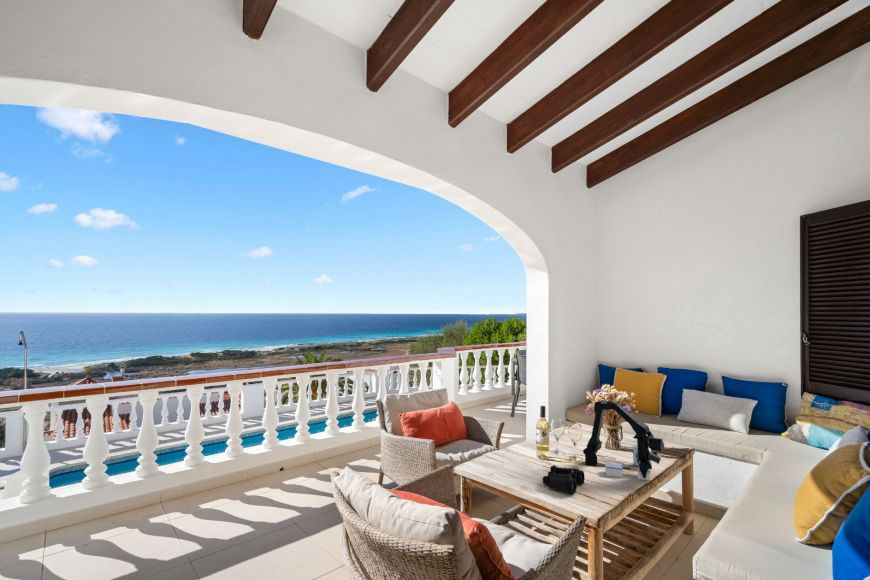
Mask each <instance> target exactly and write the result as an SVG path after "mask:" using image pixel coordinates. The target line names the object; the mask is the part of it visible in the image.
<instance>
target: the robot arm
mask: <svg viewBox="0 0 870 580" xmlns="http://www.w3.org/2000/svg"><path fill="white" fill-rule="evenodd" d="M593 410H594V419H593V420H594V421H593V426H592V431H591V436H590V438H589V440H588V442H587V444H586V448H584V449H583V450H582V452H583V455H584V457H585V458H584V459H585V464H584V465H586V466H595V467H597V466H598V456H597V453H598V451H600V450H601V449H602V444H603V441H602V440H601V439H600V436H601V432H602V431H601V430H602V425H603V420H604V416H605V414H606V413H607V410H609V411H610V410H613V411H615V412H616V413H617V415H619V416H620V417H621V418H622V419H623V420H624V421H626V423H628V425H630V427H631V429H632V431H634V433H635V435H634V436H633V437H632V438H633V439H634V440H635V439H636V445H637V453H636V458H638V459H637V462H638V466H637V467H639V469H640V471H641V473H642V476H643V478H646V475H647V471H648V469H650V470H652V469H653V466H652V465H653V464H652V465H651V463H650V462H649V461H650V460H652V462H654V463H656V464H658V465H659V464H660V462H661V461H662V460H661V459H662V458H661V456H660V455H658V452H660V453H663V452H664V450H665V443H664V441H663V438H661V437H660V438H659V437H658V438H657V437H654V435H653V433H652V432H651V430H650V427H649V426H648V425H647V424H645V423H644V422H643V421H641V420H639V419H637V418H635V417H634V416H633V415H632V414H631V413H630V412H629V411H628V410H627V409H625V408H624V407H623V405H621V404H620V403H619V402H618V401H606V400H605V399H601V400H598V401H595V402H594V405H593ZM649 448H650V449H651V452H650V451H649Z"/></svg>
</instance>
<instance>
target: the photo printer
mask: <svg viewBox="0 0 870 580" xmlns="http://www.w3.org/2000/svg"><path fill="white" fill-rule="evenodd" d="M649 451H650V452H652V450H651V449H650V448H649ZM636 453H637V444H634V445H633V446H632V455H633V457H632V458H633V459H632V460H633V462H632V463H633V465H634V466H637V467H639V466H638V462H637V459H638V458H636ZM649 462H650V463H651V465H653V464H652V463H653V461H652V460H650V461H649Z"/></svg>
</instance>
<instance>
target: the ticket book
mask: <svg viewBox="0 0 870 580" xmlns="http://www.w3.org/2000/svg"><path fill="white" fill-rule="evenodd" d="M604 467H605V476H609V477H616V478H626V475H625V473H624V467H623V464H620V463H612V462H605V465H604Z"/></svg>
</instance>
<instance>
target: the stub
mask: <svg viewBox="0 0 870 580" xmlns="http://www.w3.org/2000/svg"><path fill="white" fill-rule="evenodd" d="M636 469H637V473H636V474H637V479H638V480H644V481H651V480H652V479H651V478H652V477H651V469H648V471H647V475H646V478H643V476H642V473H641V471H640V469H639V466H637V467H636Z"/></svg>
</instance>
